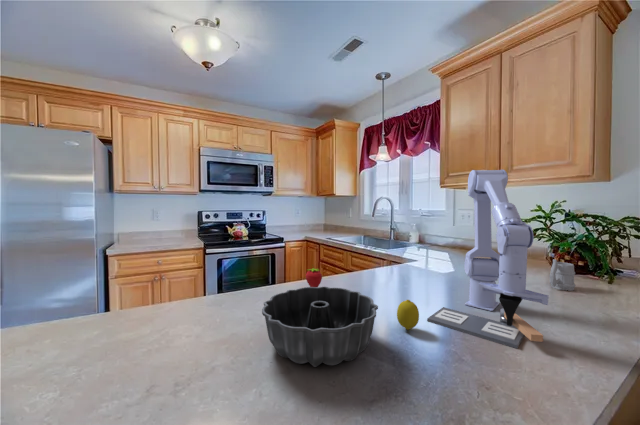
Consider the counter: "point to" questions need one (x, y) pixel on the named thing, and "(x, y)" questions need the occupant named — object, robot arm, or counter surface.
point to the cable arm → (524, 327)
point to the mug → (562, 276)
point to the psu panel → (478, 326)
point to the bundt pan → (319, 324)
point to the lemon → (407, 314)
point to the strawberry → (313, 277)
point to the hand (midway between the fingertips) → (510, 324)
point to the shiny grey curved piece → (503, 319)
